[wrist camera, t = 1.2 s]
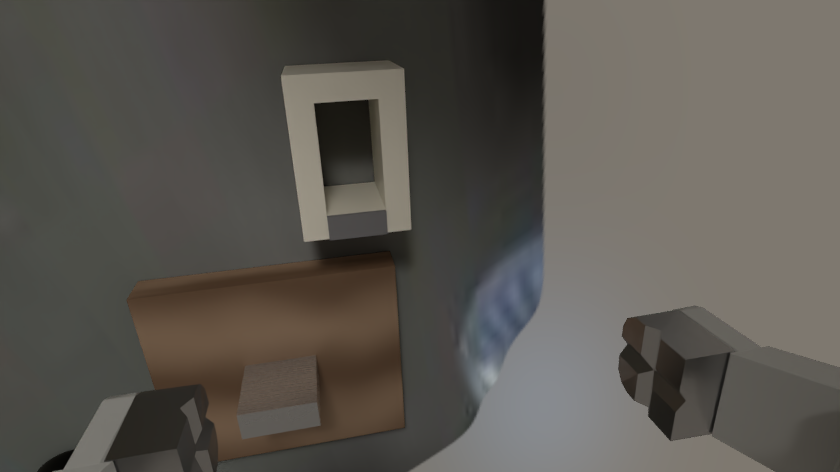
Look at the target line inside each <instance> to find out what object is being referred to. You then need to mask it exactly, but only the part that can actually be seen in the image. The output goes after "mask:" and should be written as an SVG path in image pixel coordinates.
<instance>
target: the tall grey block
mask: <svg viewBox="0 0 840 472" xmlns="http://www.w3.org/2000/svg"><path fill="white" fill-rule="evenodd" d="M237 420H238V424H239V428H240V432H241V437H242V439H247V438H253V437H259V436H264V435H270V434H276V433H281V432H287V431H293V430H299V429H304V428H310V427H316V426H321V421H320V392H319V374H318V367H317V360H316V355H314V356H307V357H301V358H294V359H287V360H281V361H274V362H268V363H261V364H254V365H248V366H245V370H244V375H243V381H242V387H241V393H240V398H239V404H238V410H237Z"/></svg>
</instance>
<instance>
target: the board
mask: <svg viewBox="0 0 840 472" xmlns="http://www.w3.org/2000/svg"><path fill="white" fill-rule="evenodd" d="M127 303H128V306H129V309H130V312H131V315H132V318H133V322H134V325H135V328H136V331H137V334H138V337H139V340H140V344H141V347H142V350H143V353H144V356H145V359H146V363H147V366H148V369H149V372H150V375H151V378H152V382H153V385H154V388H155V390H159V389H166V388H174V387H181V386H188V385H196V384H201V385H202V386H203V387H204V388H205V390H206V394H207V397H208V401H209V405H208V409H207V413H206V418H208V419H209V420H210V421H212V422H213V423H214V425H215V429H216V433H217V441H218V461H223V460H229V459H234V458H240V457H245V456H251V455H256V454H262V453H267V452H273V451H278V450H284V449H289V448H295V447H300V446H306V445H311V444H317V443H322V442H328V441H333V440H339V439H344V438H350V437H355V436H361V435H367V434H372V433H378V432H383V431H389V430H394V429H400V428H405V421H404V405H403V388H402V372H401V356H400V340H399V324H398V307H397V291H396V275H395V265H394V262H393V259H392V256H391V253H390V251H387V252H378V253H370V254H362V255H353V256H345V257H337V258H328V259H320V260H312V261H303V262H295V263H287V264H278V265H270V266H262V267H253V268H245V269H237V270H228V271H220V272H212V273H203V274H195V275H187V276H178V277H170V278H162V279H153V280H145V281H138V282H137V284H136V286H135V287H134V289H133V290H132V292H131V294H130V295H129V297H128V298H127ZM314 355H316V360H317V367H318V374H319V392H320V421H321V426H316V427H310V428H304V429H299V430H293V431H287V432H281V433H276V434H270V435H264V436H259V437H253V438H247V439H242V437H241V432H240V428H239V424H238V420H237V410H238V404H239V398H240V393H241V387H242V381H243V375H244V370H245V366H248V365H254V364H261V363H268V362H274V361H281V360H287V359H294V358H301V357H307V356H314Z"/></svg>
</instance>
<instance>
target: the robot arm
mask: <svg viewBox="0 0 840 472" xmlns="http://www.w3.org/2000/svg"><path fill="white" fill-rule="evenodd" d="M622 337H623V338H624V340H625V341H626V342H627V346H626V347H625V349H624V350H623V351H622V352H621V354H620V356H619V368H618V369H619V373H620V378H621V382H622V384H623V386H624V388H625V389H626V391H627V393H628V394H629V395H630V396H631V397H632V399H633V400H634V401H636V402H638V403H640V404H643V405H645V406H647V407H648V408H649V409H648V417H649V418H650V419H651V420H652V421H653V422H654V423H655V424H656V426H657V427H658V428H659V429H660V430H661V431H662V432H663V433H664V434H665V435H666V437H667V438H668V439H669V440H670V441H673V440H679V439H685V438H691V437H697V436H702V435H708V434H712V436H713V437H714V438H716V439H718V440H720V441H721V442H723V443H725V444H727V445H729V446H730V447H732V448H734V449H736V450H737V451H739V452H741V453H743V454H745V455H746V456H748V457H750V458H752V459H754V460H755V461H757V462H759V463H761V464H762V465H764V466H766V467H768V468H770V469H771V470H773V471H775V472H840V367H836V366H833V365H830V364H826V363H823V362H820V361H816V360H813V359H810V358H806V357H803V356H800V355H796V354H793V353H789V352H786V351H783V350H779V349H776V348H773V347H769V346H767V347H760V346H759V345H757V344H756V343H754V342H753V341H752V340H750V339H749V338H747V337H746V336H744V335H743V334H741V333H740V332H738V331H737V330H735V329H734V328H732V327H731V326H729V325H728V324H726V323H725V322H724V321H722V320H721V319H719V318H718V317H716V316H715V315H713V314H712V313H710V312H709V311H707V310H706V309H705V308H702V307H698V306H691V307H685V308H681V309H675V310H672V311H667V312H661V313H656V314H649V315H643V316H637V317H631V318H627V320H626V322H625V324H624V326H623V333H622ZM208 405H209V401H208V397H207V394H206V390H205V388H204V387H203V386H202V385H201V384H196V385H188V386H181V387H174V388H166V389H159V390H151V391H144V392H140V393H137V392H136V393H130V394H124V395H117V396H111V397H108V398H107V399H105V400H103V401H102V403H101V405H100V406H99V408H98V410H97V411H96V413H95V415H94V417H93V418H92V420H91V422H90V424H89V425H88V427H87V429H86V431H85V432H84V434H83V436H82V438H81V439H80V441H79V443H78V445H77V446H76V448H75V450H74V452H73V453H72V455H71V457H70V459H69V460H68V462H67V464H66V465H65V467H64V469H63V470H59V471H53V472H216V471H217V466H218V441H217V433H216V429H215V425H214V423H213V422H212V421H210V420H209V419H208V418H206V413H207V409H208Z"/></svg>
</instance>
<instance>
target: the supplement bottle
mask: <svg viewBox="0 0 840 472" xmlns="http://www.w3.org/2000/svg"><path fill="white" fill-rule="evenodd" d="M74 450H75V449H74ZM74 450H70V451H67V452H64V453H62V454H59V455H57V456H55V457H53V458H52V459H50V460H49V461H47V462H46V463H45V464H44V465H43V466H42V467H40V469H39V470H38V471H37V472H53V471H59V470H63V469H64V467H65V465H66V464H67V462H68V460H69V459H70V457H71V455H72V453H73V452H74Z"/></svg>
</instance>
